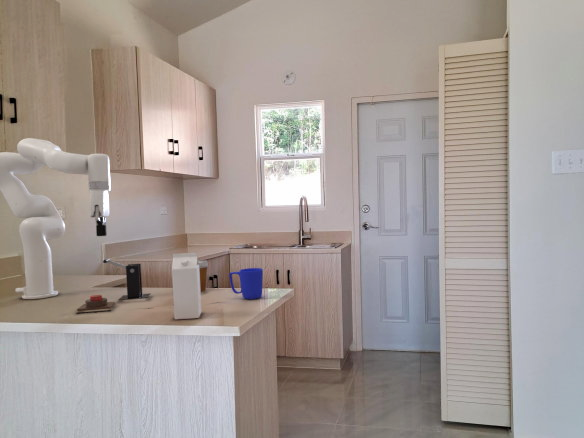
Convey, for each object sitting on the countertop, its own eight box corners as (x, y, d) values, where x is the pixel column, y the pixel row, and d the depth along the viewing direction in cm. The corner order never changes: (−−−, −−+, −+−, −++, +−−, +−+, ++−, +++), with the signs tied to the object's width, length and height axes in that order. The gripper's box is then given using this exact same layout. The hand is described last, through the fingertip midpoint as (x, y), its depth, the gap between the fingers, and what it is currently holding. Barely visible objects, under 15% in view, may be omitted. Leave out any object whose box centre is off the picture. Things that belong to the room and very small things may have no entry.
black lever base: (118, 302, 166) (116, 267, 165) (123, 298, 174) (121, 264, 173) (147, 300, 167) (145, 265, 167) (151, 296, 175) (149, 262, 175)
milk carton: (178, 314, 144) (175, 252, 143) (201, 312, 144) (198, 251, 144) (174, 320, 137) (170, 255, 136) (199, 318, 137) (195, 254, 136)
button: (89, 302, 153) (88, 297, 153) (92, 300, 157) (91, 295, 157) (100, 301, 154) (100, 296, 154) (103, 299, 157) (102, 294, 157)
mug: (234, 295, 169) (233, 268, 169) (266, 295, 167) (265, 267, 167) (226, 300, 161) (225, 271, 161) (260, 300, 159) (259, 271, 158)
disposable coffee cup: (211, 293, 175) (209, 262, 175) (185, 296, 172) (183, 264, 172) (207, 289, 184) (206, 259, 184) (183, 292, 181) (181, 261, 181)
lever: (102, 264, 166) (104, 257, 166) (105, 262, 171) (107, 256, 171) (135, 275, 168) (137, 268, 168) (137, 273, 173) (139, 266, 173)
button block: (77, 314, 150) (76, 303, 150) (84, 308, 158) (83, 298, 158) (109, 311, 152) (109, 301, 152) (115, 306, 160) (114, 296, 160)
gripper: (94, 187, 182) (96, 234, 182) (83, 186, 167) (85, 237, 168) (114, 187, 183) (116, 234, 183) (104, 186, 168) (106, 237, 169)
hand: (101, 235), depth 175 cm, fingers closed
